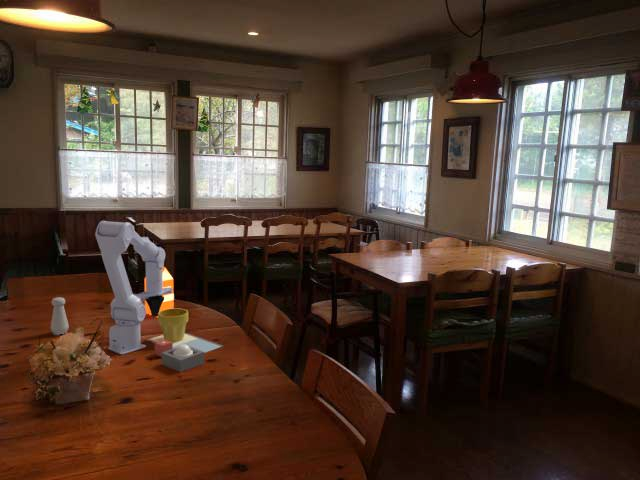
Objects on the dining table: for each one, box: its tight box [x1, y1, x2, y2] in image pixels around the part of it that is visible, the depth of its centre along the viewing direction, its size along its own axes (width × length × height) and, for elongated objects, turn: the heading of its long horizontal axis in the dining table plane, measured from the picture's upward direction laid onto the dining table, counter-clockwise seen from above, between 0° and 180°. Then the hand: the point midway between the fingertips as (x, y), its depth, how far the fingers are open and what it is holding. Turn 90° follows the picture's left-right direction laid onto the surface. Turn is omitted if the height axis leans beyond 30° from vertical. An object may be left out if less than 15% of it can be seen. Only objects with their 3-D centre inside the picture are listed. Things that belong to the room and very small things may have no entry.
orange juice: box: [143, 266, 175, 319], centre depth 215 cm, size 8×9×20 cm
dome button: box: [173, 344, 193, 358], centre depth 167 cm, size 6×6×5 cm
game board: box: [146, 332, 224, 354], centre depth 185 cm, size 14×24×1 cm, turn 53°
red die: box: [154, 340, 173, 358], centre depth 174 cm, size 4×4×4 cm
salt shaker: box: [50, 296, 70, 336], centre depth 189 cm, size 6×6×13 cm
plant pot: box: [157, 307, 189, 342], centre depth 188 cm, size 10×10×10 cm
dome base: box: [161, 346, 205, 373], centre depth 167 cm, size 9×9×4 cm
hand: (154, 315), depth 194 cm, fingers closed
